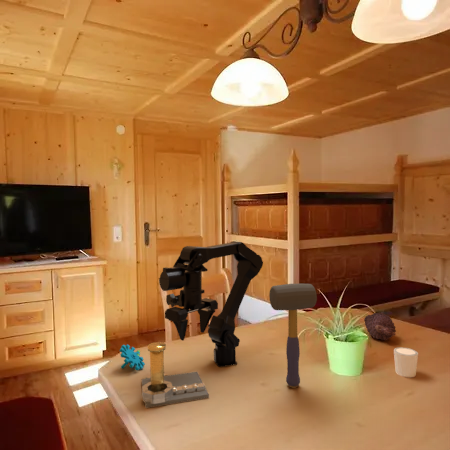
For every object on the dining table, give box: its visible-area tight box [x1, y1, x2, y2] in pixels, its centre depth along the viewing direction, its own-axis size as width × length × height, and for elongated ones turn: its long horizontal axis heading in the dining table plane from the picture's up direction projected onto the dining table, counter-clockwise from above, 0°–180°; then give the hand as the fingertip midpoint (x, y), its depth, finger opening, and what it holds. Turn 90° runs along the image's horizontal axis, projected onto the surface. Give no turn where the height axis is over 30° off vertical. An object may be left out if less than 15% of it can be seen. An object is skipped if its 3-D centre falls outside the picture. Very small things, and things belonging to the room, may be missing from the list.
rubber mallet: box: [268, 283, 318, 388], centre depth 108 cm, size 12×8×30 cm, turn 103°
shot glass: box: [393, 347, 419, 378], centre depth 116 cm, size 7×7×7 cm
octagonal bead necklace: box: [141, 375, 207, 404], centre depth 106 cm, size 17×15×2 cm
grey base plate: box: [141, 371, 210, 409], centre depth 107 cm, size 17×15×1 cm
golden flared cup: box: [147, 341, 167, 392], centre depth 101 cm, size 5×5×14 cm
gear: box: [119, 343, 145, 372], centre depth 122 cm, size 11×6×10 cm
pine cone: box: [363, 312, 397, 341], centre depth 147 cm, size 18×10×10 cm, turn 10°
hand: (192, 336), depth 117 cm, fingers open, 9 cm apart
